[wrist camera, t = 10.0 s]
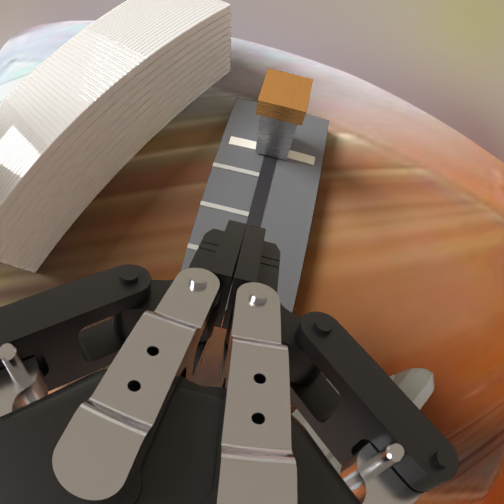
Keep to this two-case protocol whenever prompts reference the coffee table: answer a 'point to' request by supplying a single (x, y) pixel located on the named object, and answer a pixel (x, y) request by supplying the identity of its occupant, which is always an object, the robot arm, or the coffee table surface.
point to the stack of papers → (99, 112)
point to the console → (264, 191)
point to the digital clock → (409, 381)
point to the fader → (281, 111)
